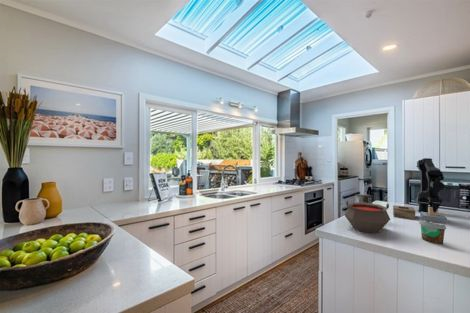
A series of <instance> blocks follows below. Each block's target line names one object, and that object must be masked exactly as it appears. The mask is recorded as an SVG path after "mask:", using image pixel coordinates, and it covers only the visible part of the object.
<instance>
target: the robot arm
mask: <svg viewBox="0 0 470 313" xmlns="http://www.w3.org/2000/svg"><path fill="white" fill-rule="evenodd" d="M416 167H417V169H418V171H419V172H420V191H419V192H416V193H417V196H416V200H415V203H416V204H418V209H417V211H418V212H419V213H420V212H428V207H432V208H433V212H436V211H437V209H438V210H439V208H440V206H441V205H442V204H443V199H442V198H440V197H441V196H440V192H441V191H442V190H443V189H444V188H445V183H444V182H442V181H444V179H445V177H444V174H443V172H442V171H441V169H440V168H438V167H436V166H435V164H434V162H433V159H432V158H430V157H429V158H426V157H425V158H422V159H420V160H417V162H416Z"/></svg>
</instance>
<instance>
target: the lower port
mask: <svg viewBox="0 0 470 313" xmlns="http://www.w3.org/2000/svg"><path fill="white" fill-rule="evenodd" d="M419 215H420V219H422V218H425V220H426V221H430V222H435V223H437V224H444V225H447V224H448V217H446V215H444V213H438V216H431V215H428V212H419Z"/></svg>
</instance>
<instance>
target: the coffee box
mask: <svg viewBox="0 0 470 313" xmlns="http://www.w3.org/2000/svg"><path fill="white" fill-rule="evenodd" d="M354 198H355V199H354V202H364V203H371V204H373V195H370V194H367V193H365V194H361V193H357V194H355V195H354Z"/></svg>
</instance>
